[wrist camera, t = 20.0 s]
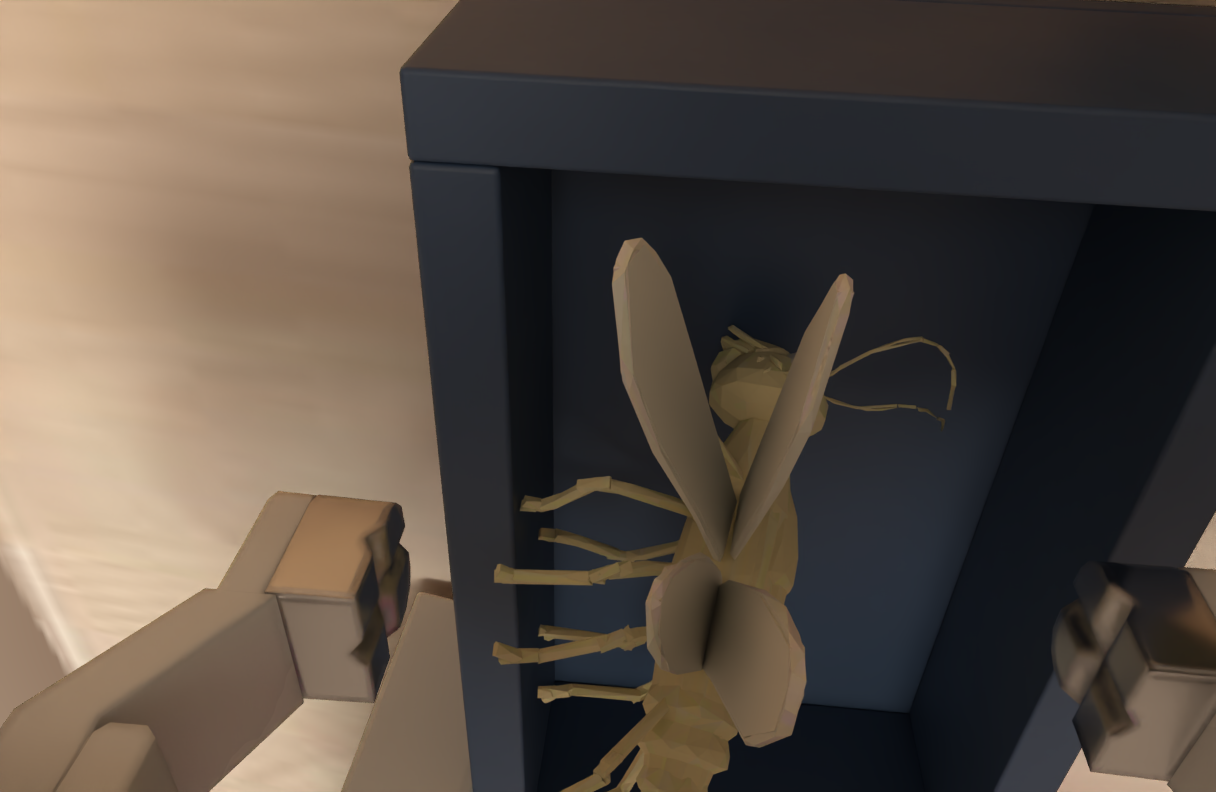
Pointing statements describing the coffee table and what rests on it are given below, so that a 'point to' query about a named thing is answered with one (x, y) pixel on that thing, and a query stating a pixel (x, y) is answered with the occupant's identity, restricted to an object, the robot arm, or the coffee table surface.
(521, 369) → the box
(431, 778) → the handheld gaming console
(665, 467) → the toy
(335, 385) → the coffee table surface
